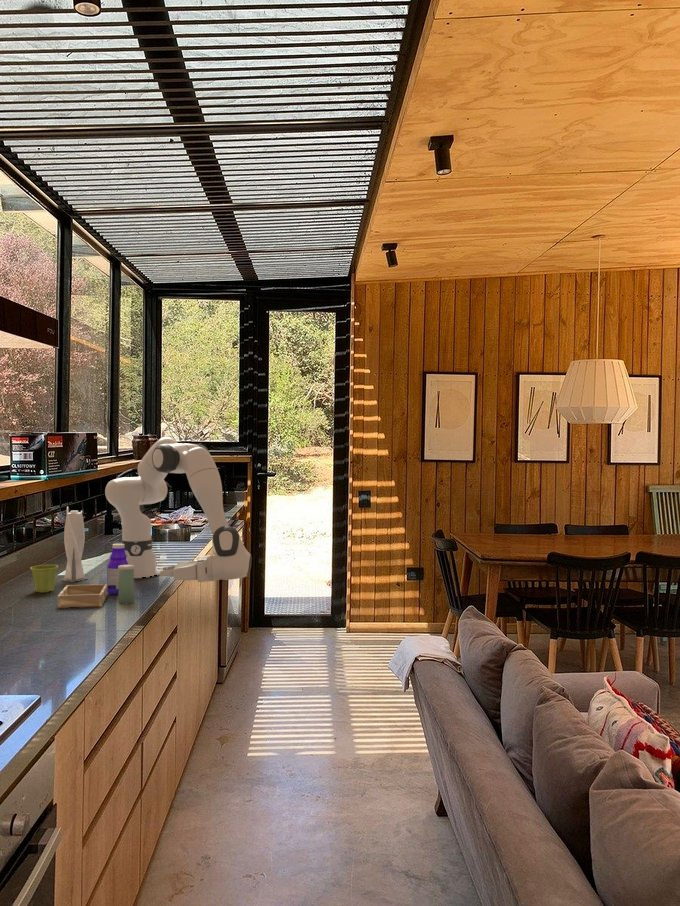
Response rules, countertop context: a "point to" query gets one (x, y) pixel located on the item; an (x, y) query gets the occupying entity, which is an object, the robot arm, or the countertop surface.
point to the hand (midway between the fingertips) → (161, 571)
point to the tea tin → (126, 583)
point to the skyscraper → (74, 545)
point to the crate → (83, 596)
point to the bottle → (115, 567)
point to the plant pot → (44, 577)
